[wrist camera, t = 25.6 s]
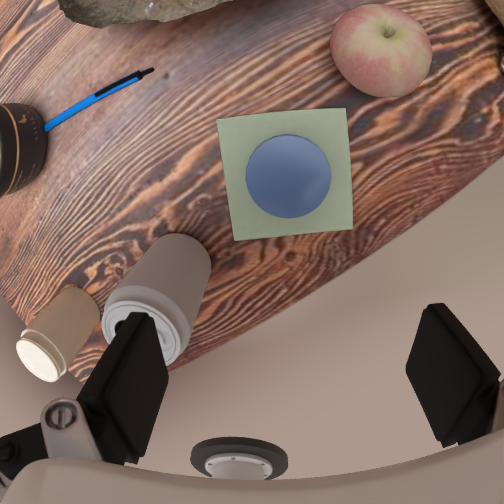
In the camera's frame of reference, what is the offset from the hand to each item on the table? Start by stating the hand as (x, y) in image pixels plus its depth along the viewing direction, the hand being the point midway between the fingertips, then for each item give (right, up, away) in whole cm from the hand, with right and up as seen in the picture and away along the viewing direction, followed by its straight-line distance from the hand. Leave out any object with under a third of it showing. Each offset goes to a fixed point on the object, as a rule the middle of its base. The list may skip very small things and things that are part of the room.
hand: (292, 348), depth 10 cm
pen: (-19, +17, +14) cm, 29 cm away
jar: (-27, +15, +15) cm, 34 cm away
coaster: (+2, +10, +16) cm, 19 cm away
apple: (+9, +20, +12) cm, 25 cm away
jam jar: (-22, -4, +23) cm, 32 cm away
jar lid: (+2, +9, +14) cm, 17 cm away
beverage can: (-8, +2, +20) cm, 21 cm away
